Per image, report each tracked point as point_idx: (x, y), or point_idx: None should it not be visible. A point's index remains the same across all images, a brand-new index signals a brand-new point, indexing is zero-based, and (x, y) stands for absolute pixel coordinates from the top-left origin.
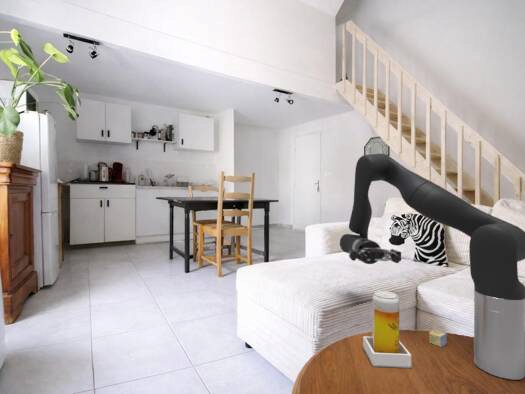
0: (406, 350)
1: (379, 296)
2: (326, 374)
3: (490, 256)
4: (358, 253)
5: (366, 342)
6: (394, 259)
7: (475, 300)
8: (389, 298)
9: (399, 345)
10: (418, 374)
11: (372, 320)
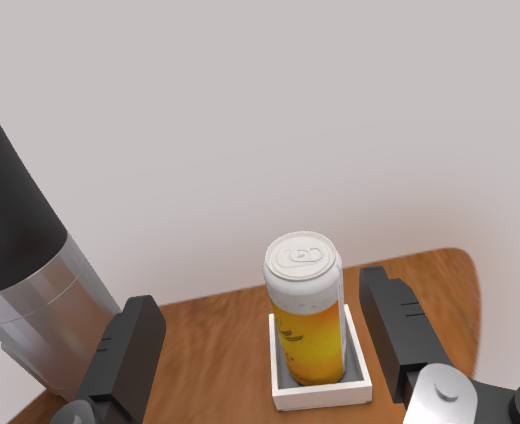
0: (272, 330)
1: (322, 235)
2: (433, 281)
3: (7, 140)
4: (466, 388)
5: (361, 352)
6: (152, 344)
7: (66, 277)
8: (296, 232)
9: (277, 367)
10: (267, 315)
11: (344, 311)
